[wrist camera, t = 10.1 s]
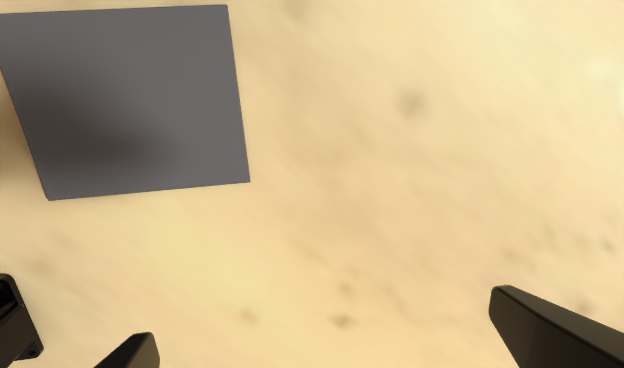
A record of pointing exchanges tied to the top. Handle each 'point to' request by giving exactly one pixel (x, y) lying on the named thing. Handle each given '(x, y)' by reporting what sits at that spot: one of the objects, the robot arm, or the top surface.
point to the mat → (126, 98)
